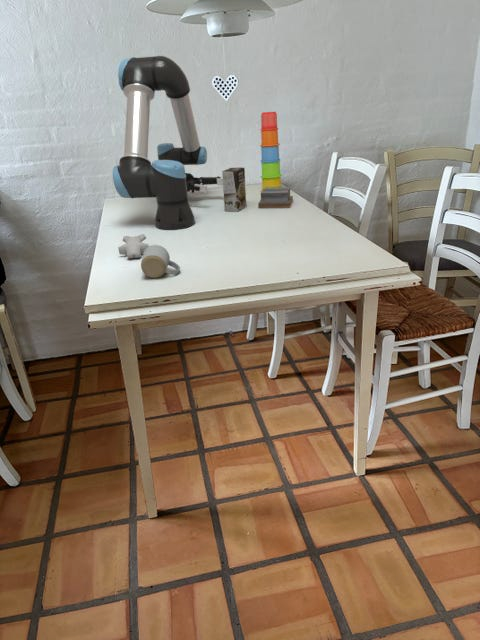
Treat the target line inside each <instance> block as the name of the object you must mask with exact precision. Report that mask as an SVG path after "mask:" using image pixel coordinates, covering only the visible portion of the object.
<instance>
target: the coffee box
mask: <svg viewBox="0 0 480 640" xmlns="http://www.w3.org/2000/svg"><path fill="white" fill-rule="evenodd" d="M245 173H246V171H245V167H229V168H228V169H227V168H226V169H225V170H222V179H223V186H222V188H223V189H222V190H223V192H222V193H223V205H224V206H223V207H224V212H234V213H235V212H236V213H237V212H240V211H241V210H243V209H244V208H246V207H247V194H246V193H247V192H246V191H247V190H246V174H245Z"/></svg>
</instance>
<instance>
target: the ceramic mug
mask: <svg viewBox="0 0 480 640" xmlns="http://www.w3.org/2000/svg"><path fill="white" fill-rule="evenodd" d="M148 246H149V247H147V248H146V249H145V251H144V253H142V254H143V255H142V256H141V258H142V259H141V262H140V268H141V270H142V273H143V274H144V275H145V276H146V277H148V278H151V279H157V278H160V277H162V276H163V275H164V274H165V273H166V274H168V275H174V276H175V275H178V274H179V273H180V271H181V267H180V265H179V264H178V263H177V262H175V261H173V260H170V253H169V252H168V250H167V248H165V247H164V246H162V245H159V244H152V245H148ZM168 266H169V267H172V268H174V269H172V268H168Z"/></svg>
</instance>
